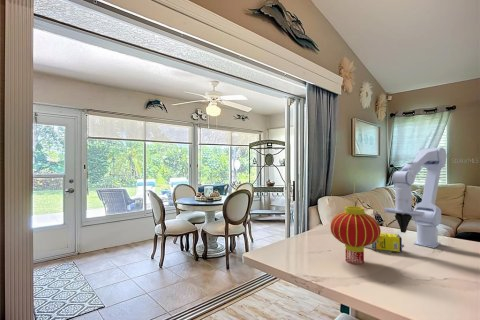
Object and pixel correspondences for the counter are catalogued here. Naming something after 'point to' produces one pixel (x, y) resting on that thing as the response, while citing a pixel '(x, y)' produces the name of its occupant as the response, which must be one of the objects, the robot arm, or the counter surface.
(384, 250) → the rubber mat
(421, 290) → the counter surface
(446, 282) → the counter surface
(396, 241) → the supplement box
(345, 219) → the lantern
